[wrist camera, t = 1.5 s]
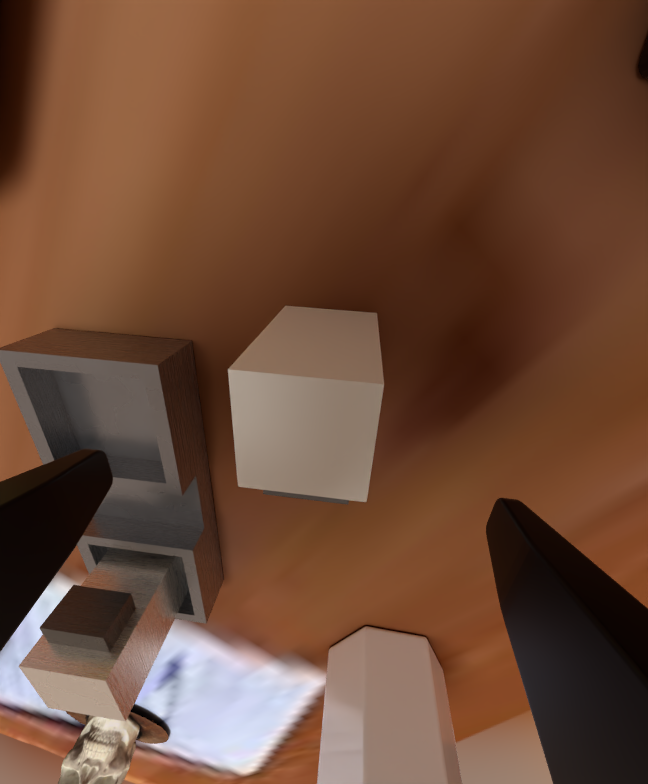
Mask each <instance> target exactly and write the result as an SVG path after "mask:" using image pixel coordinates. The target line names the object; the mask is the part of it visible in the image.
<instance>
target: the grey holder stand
mask: <svg viewBox="0 0 648 784" xmlns="http://www.w3.org/2000/svg"><path fill="white" fill-rule="evenodd" d="M0 363H1V365H2V367H3V370H4V372H5V374H6V377H7V379H8V382H9V384H10V386H11V389H12V391H13V393H14V396H15V398H16V401H17V403H18V405H19V408H20V410H21V413H22V415H23V417H24V420H25V422H26V424H27V427H28V429H29V432H30V434H31V436H32V439H33V441H34V443H35V446H36V448H37V451H38V453H39V455H40V458H41V460H42V463H43V465H44V464H47V463H49V462H52V461H54V460H57V459H59V458H62V457H64V456H67V455H69V454H72V453H74V452H77V451H79V450H82V449H97V450H102V451H104V452H105V454H106V455H107V459H108V462H109V465H110V468H111V471H112V475H113V483H112V486H111V488H110V490H109V491H108V493H107V495H106V496H105V498H104V500H103V502H102V503H101V505H100V507H99V508H98V510H97V512H96V513H95V515H94V517H93V519H92V520H91V522H90V524H89V525H88V527H87V529H86V530H85V532H84V534H83V535H82V537H81V539H80V540H79V542H78V543H77V546H78V548H79V551H80V553H81V555H82V558H83V560H84V563H85V565H86V567H87V570H88V572H89V574H90V575H89V576H88V577H87V578H86V580H85V581H84V582H83V584H82V585H81V586H77V585H73V586H72V588H71V589H70V590H69V591H68V593H67V594H66V595H65V596H64V598H63V599H62V600H61V602H60V603H59V604H58V605H57V607H56V608H55V609H54V610H53V612H52V613H51V614H50V615H49V617H48V618H47V619H46V620H45V622H44V623H43V624H42V625H41V627H40V630H41V631H42V633H43V635H42V637H41V638H40V639H39V641H38V642H37V643H36V644H35V646H34V647H33V648H32V650H31V651H30V652H29V653H28V655H27V656H26V657H25V659H24V660H23V661H22V662H21V664H20V665H19V667H20V669H21V670H22V672H23V673H24V674H25V676H26V677H27V679H28V680H29V681H30V683H31V684H32V686H33V687H34V688H35V690H36V691H37V693H38V694H39V695H40V697H41V698H42V700H43V701H44V702H45V704H46V705H47V707H48V708H52V709H58V710H63V711H69V712H74V713H80V714H86V715H91V716H97V717H102V718H108V719H114V720H119V721H125V722H126V720H127V718H128V716H129V714H130V711H131V709H132V707H133V705H134V703H135V701H136V699H137V697H138V695H139V693H140V690H141V688H142V686H143V684H144V682H145V680H146V678H147V676H148V674H149V672H150V670H151V667H152V665H153V663H154V661H155V659H156V657H157V655H158V653H159V651H160V649H161V646H162V644H163V642H164V640H165V638H166V636H167V634H168V632H169V630H170V628H171V625H172V623H173V621H174V619H181V620H187V621H194V622H200V623H207V621H208V618H209V616H210V613H211V611H212V608H213V606H214V603H215V601H216V598H217V595H218V593H219V590H220V588H221V585H222V583H223V580H224V577H223V570H222V562H221V555H220V547H219V540H218V532H217V525H216V517H215V510H214V502H213V495H212V488H211V480H210V473H209V465H208V458H207V450H206V443H205V435H204V428H203V420H202V413H201V405H200V398H199V390H198V383H197V375H196V368H195V361H194V353H193V346H192V341H190V340H179V339H168V338H156V337H145V336H134V335H123V334H112V333H101V332H90V331H78V330H67V329H56V328H54V329H51V330H48V331H45V332H42V333H40V334H37V335H34V336H31V337H29V338H26V339H23V340H20V341H17V342H15V343H12V344H9V345H6V346H4V347H1V348H0Z"/></svg>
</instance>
